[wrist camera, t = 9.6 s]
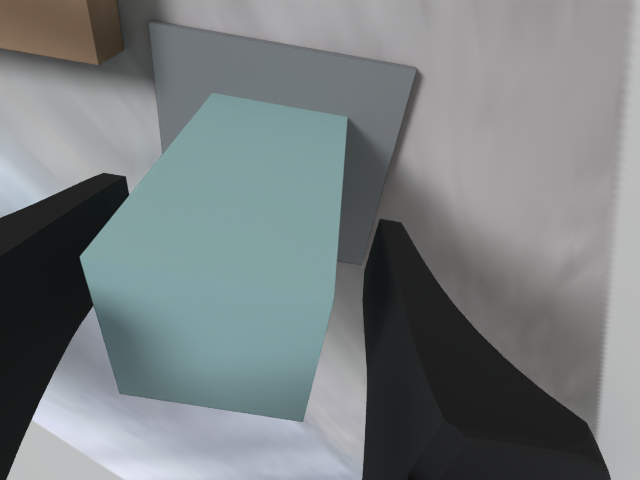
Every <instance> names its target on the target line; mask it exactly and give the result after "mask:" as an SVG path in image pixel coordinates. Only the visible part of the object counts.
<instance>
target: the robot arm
mask: <svg viewBox="0 0 640 480" xmlns="http://www.w3.org/2000/svg"><path fill="white" fill-rule="evenodd" d="M128 196H129V192H128V186H127V181H126V176H120V175H114V174H108V173H102V174H100V175H97V176H94V177H92V178H90V179H87V180H85V181H83V182H81V183H78V184H76V185H74V186H72V187H70V188H68V189H65V190H63V191H61V192H59V193H57V194H55V195H52V196H50V197H48V198H46V199H44V200H41V201H39V202H37V203H35V204H33V205H30V206H28V207H26V208H23V209H21V210H18V211H16V212H14V213H11V214H9V215H6V216H4V217H2V218H0V480H6V479H7V476H8V474H9V472H10V469H11V467H12V464H13V462H14V459H15V457H16V454H17V452H18V449H19V447H20V445H21V442H22V440H23V438H24V435H25V433H26V430H27V429H28V426H29V424H30V422H31V420H32V417H33V415H34V413H35V411H36V409H37V406H38V404H39V402H40V400H41V398H42V396H43V394H44V392H45V390H46V388H47V386H48V384H49V382H50V379H51V377H52V375H53V373H54V371H55V369H56V367H57V365H58V364H59V362H60V360H61V358H62V356H63V354H64V352H65V350H66V348H67V347H68V345H69V343H70V341H71V339H72V337H73V336H74V334H75V332H76V331H77V329H78V328H79V326H80V324H81V323H82V321H83V320H84V318H85V317H86V316H87V314H88V313H89V311H90V310H91V308H92V307H93V301H92V298H91V294H90V291H89V288H88V284H87V281H86V277H85V274H84V271H83V267H82V264H81V260H80V256H81V254H82V253H83V252H84V251H85V250H86V248H87V247H88V246H89V245H90V243H91V242H92V241H93V240H94V238H95V237H96V236H97V235H98V234H99V232H100V231H101V230H102V229H103V227H104V226H105V225H106V224H107V222H108V221H109V220H110V219H111V217H112V216H113V215H114V214H115V213H116V211H117V210H118V209H119V208H120V206H121V205H122V204H123V203H124V201H125V200H126V199H127V198H128ZM363 317H364V333H365V348H366V363H367V402H366V425H365V445H364V462H363V478H362V480H610V479H611V478H610V475H609V471H608V469H607V466H606V464H605V462H604V459H603V457H602V454H601V452H600V450H599V447H598V445H597V443H596V441H595V439H594V436H593V434H592V432H591V430H590V428H589V426H588V424H587V423H586V422H585V421H583V420H582V419H581V418H579V417H578V416H577V415H575V414H574V413H573V412H571V411H570V410H569V409H567V408H566V407H565V406H563V405H562V404H560V403H559V402H558V401H556V400H555V399H554V398H552V397H551V396H550V395H548V394H547V393H546V392H544V391H543V390H542V389H541V388H539V387H538V386H537V385H536V384H535V383H533V382H532V381H531V380H530V379H529V378H527V377H526V376H525V375H524V374H523V373H521V372H520V371H519V370H518V369H517V368H516V367H514V366H513V365H512V364H511V363H510V362H509V361H508V360H507V359H506V358H504V357H503V356H502V355H501V354H500V353H499V352H498V351H497V350H496V349H495V348H494V347H493V346H492V345H491V344H490V343H489V342H488V341H487V340H486V339H485V338H484V337H483V336H482V335H481V334H480V333H479V332H478V331H477V330H476V329H475V328H474V327H473V326H472V324H471V323H470V322H469V321H468V320H467V319H466V318H465V316H464V315H463V314H462V313H461V312H460V311H459V310H458V308H457V307H456V306H455V305H454V304H453V302H452V301H451V300H450V298H449V297H448V296H447V294H446V293H445V292H444V290H443V289H442V288H441V286H440V285H439V283H438V282H437V281H436V279H435V278H434V276H433V275H432V273H431V271H430V270H429V268H428V267H427V265H426V264H425V262H424V261H423V259H422V257H421V256H420V254H419V252H418V251H417V249H416V247H415V246H414V244H413V242H412V240H411V239H410V237H409V235H408V233H407V231H406V230H405V228H404V226H403V225H402V223H401V222H395V221H389V220H383V219H380V220H379V224H378V227H377V230H376V234H375V237H374V240H373V244H372V247H371V251H370V254H369V257H368V261H367V264H366V268H365V271H364V285H363Z"/></svg>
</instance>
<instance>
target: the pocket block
mask: <svg viewBox="0 0 640 480" xmlns="http://www.w3.org/2000/svg"><path fill="white" fill-rule="evenodd" d="M0 48H3V49H9V50H15V51H20V52H26V53H32V54H38V55H43V56H49V57H55V58H61V59H66V60H72V61H78V62H84V63H89V64H95V65H99V64H101V63H103V62H104V61H106V60H108V59H109V58H111V57H113V56H114V55H116V54H118V53H119V52H121V51H123V50H124V47H123V40H122V34H121V27H120V20H119V13H118V6H117V0H0Z"/></svg>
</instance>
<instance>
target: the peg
mask: <svg viewBox="0 0 640 480" xmlns="http://www.w3.org/2000/svg"><path fill="white" fill-rule="evenodd" d="M347 118H348V117H345V116H339V115H333V114H328V113H322V112H317V111H311V110H306V109H300V108H294V107H289V106H283V105H278V104H272V103H266V102H261V101H255V100H250V99H244V98H239V97H233V96H227V95H222V94H216V93H212V94H211V95H210V96H209V98H208V99H207V100H206V101H205V103H204V104H203V105H202V106H201V108H200V109H199V110H198V111H197V113H196V114H195V115H194V116H193V117H192V119H191V120H190V121H189V122H188V124H187V125H186V126H185V127H184V129H183V130H182V131H181V132H180V134H179V135H178V136H177V137H176V138H175V140H174V141H173V142H172V143H171V145H170V146H169V147H168V148H167V150H166V151H165V152H164V153H163V155H162V156H161V157H160V158H159V159H158V161H157V162H156V163H155V164H154V166H153V167H152V168H151V169H150V171H149V172H148V173H147V174H146V175H145V177H144V178H143V179H142V180H141V182H140V183H139V184H138V185H137V187H136V188H135V189H134V190H133V192H132V193H131V194H130V195H129V196H128V198H127V199H126V200H125V201H124V203H123V204H122V205H121V206H120V208H119V209H118V210H117V211H116V213H115V214H114V215H113V216H112V217H111V219H110V220H109V221H108V222H107V224H106V225H105V226H104V227H103V229H102V230H101V231H100V232H99V234H98V235H97V236H96V237H95V238H94V240H93V241H92V242H91V243H90V245H89V246H88V247H87V248H86V250H85V251H84V252H83V253H82V254H81V256H80V260H81V264H82V267H83V271H84V274H85V277H86V281H87V284H88V288H89V291H90V294H91V298H92V301H93V305H94V308H95V311H96V315H97V318H98V322H99V325H100V328H101V332H102V335H103V339H104V342H105V345H106V349H107V352H108V356H109V359H110V362H111V366H112V369H113V372H114V376H115V379H116V383H117V386H118V389H119V393H120V394H125V395H132V396H138V397H145V398H151V399H157V400H164V401H170V402H177V403H183V404H190V405H196V406H203V407H209V408H215V409H222V410H228V411H235V412H241V413H248V414H254V415H261V416H267V417H274V418H280V419H286V420H293V421H299V422H303V419H304V415H305V411H306V408H307V404H308V400H309V396H310V392H311V388H312V384H313V380H314V376H315V372H316V368H317V364H318V360H319V356H320V352H321V348H322V344H323V340H324V336H325V332H326V328H327V325H328V321H329V317H330V313H331V309H332V305H333V301H334V292H335V279H336V265H337V252H338V238H339V225H340V212H341V198H342V185H343V172H344V158H345V145H346V131H347Z"/></svg>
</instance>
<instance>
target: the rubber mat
mask: <svg viewBox="0 0 640 480" xmlns="http://www.w3.org/2000/svg"><path fill="white" fill-rule="evenodd" d="M148 25H149V35H150V44H151V53H152V63H153V72H154V81H155V90H156V100H157V109H158V118H159V128H160V137H161V146H162V155H163V153H164V152H165V151H166V150H167V148H168V147H169V146H170V145H171V143H172V142H173V141H174V140H175V138H176V137H177V136H178V135H179V134H180V132H181V131H182V130H183V129H184V127H185V126H186V125H187V124H188V122H189V121H190V120H191V119H192V117H193V116H194V115H195V114H196V113H197V111H198V110H199V109H200V108H201V106H202V105H203V104H204V103H205V101H206V100H207V99H208V98H209V96H210V95H211V94H212V93H216V94H222V95H227V96H233V97H239V98H244V99H250V100H255V101H261V102H266V103H272V104H278V105H283V106H289V107H294V108H300V109H306V110H311V111H317V112H322V113H328V114H333V115H339V116H345V117H348V118H347V131H346V145H345V158H344V172H343V185H342V198H341V212H340V225H339V238H338V252H337V261H339V262H345V263H351V264H357V265H361V263H362V260H363V256H364V253H365V249H366V246H367V242H368V239H369V235H370V232H371V228H372V225H373V221H374V218H375V214H376V211H377V207H378V204H379V200H380V197H381V193H382V190H383V186H384V182H385V179H386V175H387V172H388V168H389V165H390V161H391V158H392V154H393V151H394V147H395V144H396V140H397V137H398V133H399V130H400V126H401V123H402V119H403V116H404V112H405V109H406V105H407V102H408V98H409V94H410V91H411V87H412V84H413V80H414V77H415V73H416V67H412V66H406V65H400V64H395V63H389V62H383V61H378V60H372V59H367V58H361V57H355V56H350V55H344V54H338V53H333V52H327V51H322V50H316V49H310V48H305V47H299V46H293V45H288V44H282V43H277V42H271V41H265V40H260V39H254V38H248V37H243V36H237V35H232V34H226V33H220V32H215V31H209V30H203V29H198V28H192V27H187V26H181V25H175V24H170V23H164V22H158V21H153V20H152V21H150V22H148Z"/></svg>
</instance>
